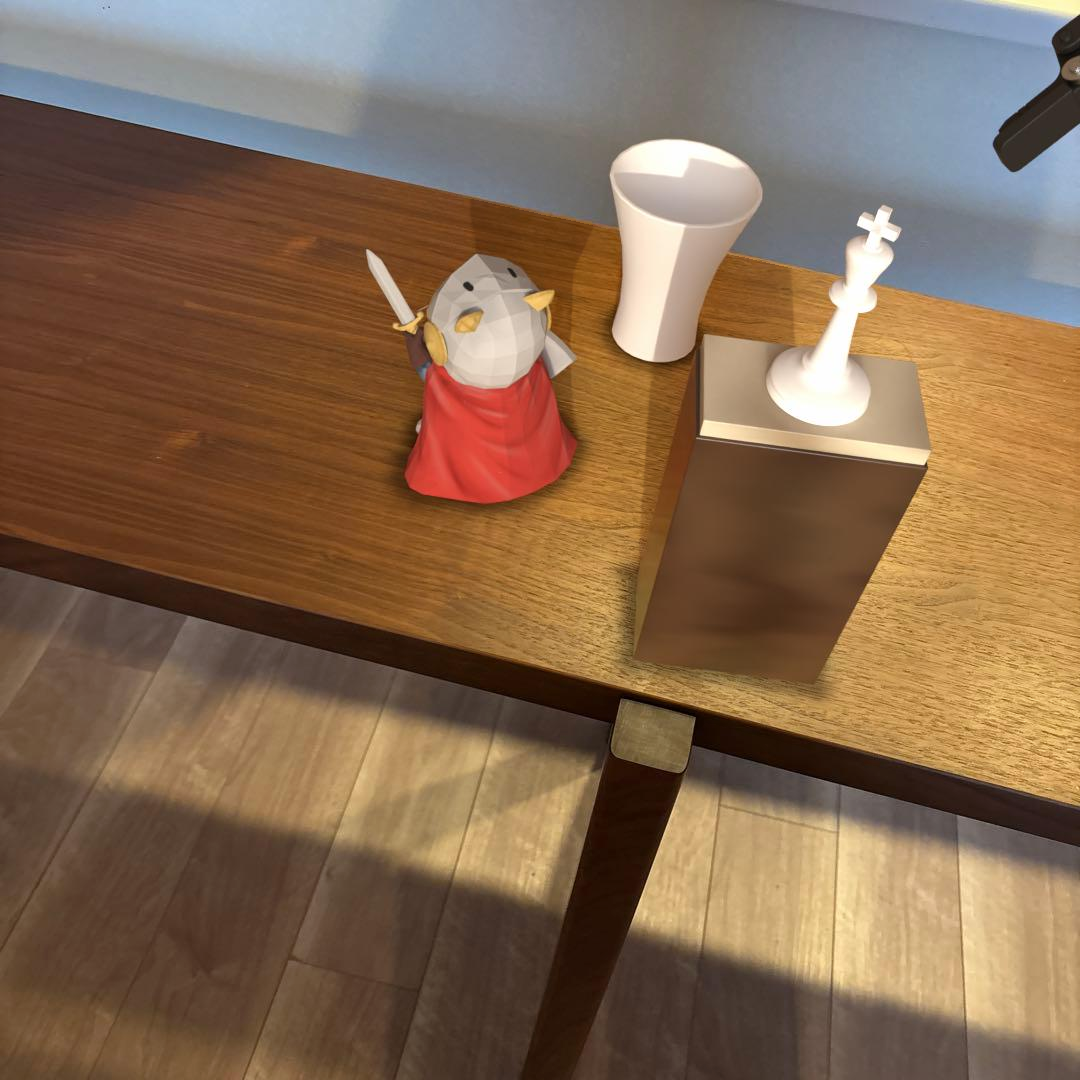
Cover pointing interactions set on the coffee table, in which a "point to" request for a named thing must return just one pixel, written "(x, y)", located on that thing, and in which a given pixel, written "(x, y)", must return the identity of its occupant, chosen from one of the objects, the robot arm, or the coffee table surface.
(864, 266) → the chess piece
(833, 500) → the rectangular box
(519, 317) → the figurine
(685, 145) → the cup
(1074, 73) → the robot arm
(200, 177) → the coffee table surface
